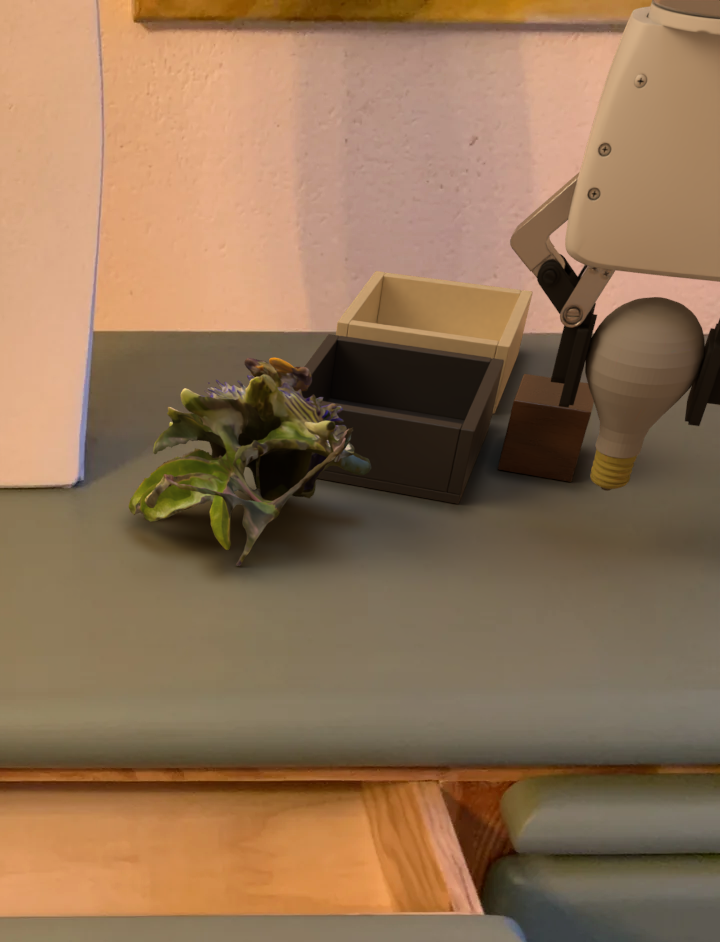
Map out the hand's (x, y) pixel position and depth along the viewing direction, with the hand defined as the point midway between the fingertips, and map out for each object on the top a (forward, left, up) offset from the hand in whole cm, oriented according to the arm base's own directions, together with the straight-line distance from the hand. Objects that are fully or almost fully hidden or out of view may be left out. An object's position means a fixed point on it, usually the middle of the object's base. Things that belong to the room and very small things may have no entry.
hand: (630, 402), depth 59 cm
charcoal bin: (+13, -8, -9) cm, 18 cm away
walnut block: (+4, -10, -9) cm, 14 cm away
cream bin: (+13, -22, -9) cm, 27 cm away
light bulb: (0, 0, -5) cm, 5 cm away
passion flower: (+18, +6, -9) cm, 21 cm away
